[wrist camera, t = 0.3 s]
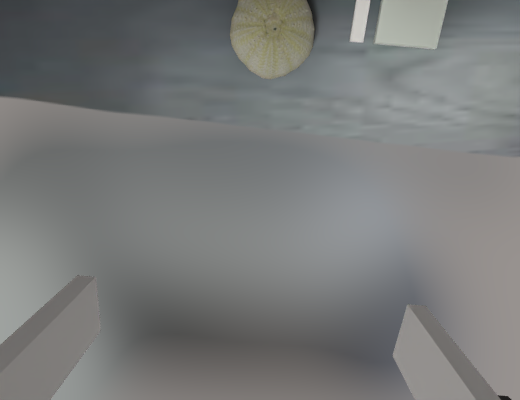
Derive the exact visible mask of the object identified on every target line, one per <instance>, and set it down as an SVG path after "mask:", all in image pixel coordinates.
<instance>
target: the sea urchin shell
mask: <svg viewBox="0 0 520 400" xmlns="http://www.w3.org/2000/svg"><path fill="white" fill-rule="evenodd" d="M314 30H315V29H314V24H313V20H312V12H311V10H310V7H309V5H308V3H307V0H239V1H238V5H237V8H236V10H235V12H234V15H233V17H232V23H231V31H230V38H231V43H232V47H233V49H234V50H235V52H236V54H237V56H238V58H239V59H240V60H241V61H242V62H243V63H244V64H245V65H246V66H247V67H248V69H249V70H250V71H252V72H254V73H255V74H257V75H258V76H260V77H262V78H266V79H274V78H277V77H281V76H285V75H286V74H288V73H289V72H291V71H292V70H295V69H296V68H298V67H299V66H300V65H301V64H302V63H303V62H304V60H305V59H306V58H307V57H308V56H309V54H310V52H311V49H312V47H313V38H314Z"/></svg>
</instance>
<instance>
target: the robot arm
mask: <svg viewBox="0 0 520 400" xmlns="http://www.w3.org/2000/svg"><path fill="white" fill-rule="evenodd" d="M100 331H101V326H100V315H99V305H98V295H97V284H96V277H90V276H79V275H77V276H76V277H75V278H74V279H73V280H72V281H71V282H70V283H68V284H67V285H66V286H65V287H64V288H63V289H62V290H61V291H60V292H58V293H57V294H56V295H55V296H54V297H53V298H52V299H51V300H50V301H49V302H47V303H46V304H45V305H44V306H43V307H42V308H41V309H40V310H38V311H37V312H36V313H35V314H34V315H33V316H32V317H31V318H30V319H29V320H27V321H26V322H25V323H24V324H23V325H22V326H21V327H20V328H19V329H17V330H16V331H15V332H14V333H13V334H12V335H11V336H10V337H8V338H7V339H6V340H5V341H4V342H3V343H2V344H1V345H0V400H50V399H51V398H52V397H53V395H54V394H55V392H56V391H57V390H58V389H59V387H60V386H61V384H62V383H63V382H64V380H65V379H66V378H67V376H68V375H69V374H70V372H71V371H72V369H73V368H74V367H75V365H76V364H77V363H78V361H79V360H80V359H81V357H82V356H83V354H84V353H85V352H86V350H87V349H88V348H89V346H90V345H91V343H92V342H93V341H94V339H95V338H96V337H97V335H98V334H99V333H100ZM393 357H394V359H395V361H396V363H397V365H398V367H399V369H400V371H401V373H402V375H403V377H404V379H405V381H406V383H407V385H408V387H409V389H410V390H411V392H412V394H413V396H414V398H415V400H511V399H510V398H509V397H508V396H499V395H497V394H496V393H495V392H494V391H493V389H492V388H491V387H490V386H489V384H488V383H487V382H486V381H485V379H484V378H483V377H482V376H481V375H480V373H479V372H478V371H477V369H476V368H475V367H474V366H473V365H472V363H471V362H470V361H469V360H468V358H467V357H466V356H465V354H464V353H463V352H462V351H461V349H460V348H459V347H458V346H457V345H456V343H455V342H454V341H453V339H452V338H451V337H450V336H449V335H448V333H447V332H446V331H445V330H444V328H443V327H442V326H441V325H440V323H439V322H438V321H437V320H436V318H435V317H434V316H433V315H432V313H431V312H430V311H429V310H428V308H427V307H426V306H420V305H410V304H408V305H407V308H406V311H405V315H404V318H403V322H402V325H401V329H400V332H399V336H398V339H397V342H396V346H395V350H394V353H393Z"/></svg>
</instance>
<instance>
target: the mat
mask: <svg viewBox="0 0 520 400" xmlns="http://www.w3.org/2000/svg"><path fill="white" fill-rule="evenodd" d="M447 3H448V0H381V4H380V9H379V15H378V20H377V26H376V31H375V36H374V42H373V44H380V45H391V46H401V47H412V48H422V49H432V50H434V49H436V48H437V44H438V40H439V36H440V32H441V28H442V24H443V20H444V16H445V12H446V7H447Z"/></svg>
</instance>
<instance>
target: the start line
mask: <svg viewBox="0 0 520 400" xmlns="http://www.w3.org/2000/svg"><path fill="white" fill-rule="evenodd" d="M369 6H370V0H356V3H355V10H354V16H353V22H352V28H351V34H350V40H349V42H359V43H363V40H364V34H365V29H366V23H367V17H368V12H369Z"/></svg>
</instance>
